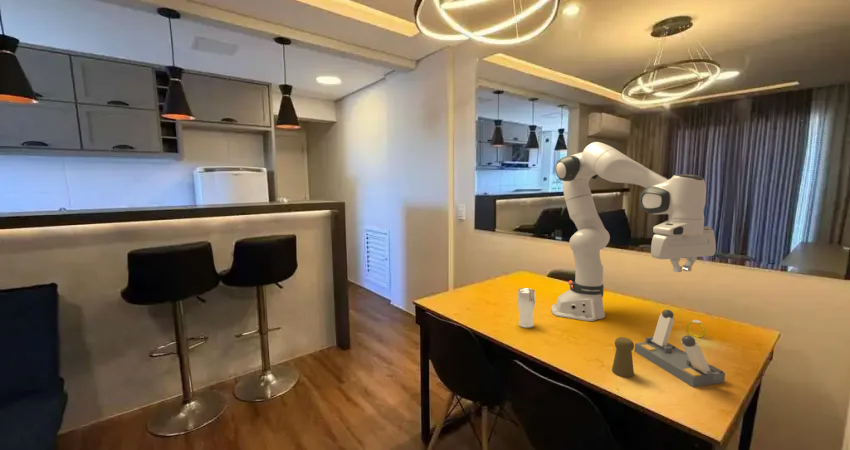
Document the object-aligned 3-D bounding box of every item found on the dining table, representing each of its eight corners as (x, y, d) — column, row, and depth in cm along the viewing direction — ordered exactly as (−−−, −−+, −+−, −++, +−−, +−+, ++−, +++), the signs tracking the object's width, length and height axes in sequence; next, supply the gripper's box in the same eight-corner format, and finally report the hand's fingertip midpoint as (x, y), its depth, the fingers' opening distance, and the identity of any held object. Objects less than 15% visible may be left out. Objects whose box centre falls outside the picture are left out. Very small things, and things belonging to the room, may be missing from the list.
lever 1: (655, 342, 123) (665, 307, 123) (669, 350, 118) (680, 313, 117) (647, 341, 123) (658, 306, 122) (661, 349, 117) (673, 312, 116)
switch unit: (661, 348, 126) (662, 335, 125) (732, 386, 102) (733, 371, 101) (634, 351, 124) (634, 338, 123) (699, 391, 100) (700, 376, 99)
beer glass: (535, 323, 149) (536, 288, 148) (533, 329, 143) (534, 293, 141) (519, 320, 152) (519, 287, 151) (516, 327, 146) (516, 291, 144)
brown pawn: (607, 368, 113) (609, 335, 112) (625, 366, 114) (627, 334, 112) (619, 378, 107) (621, 343, 106) (638, 377, 108) (640, 342, 106)
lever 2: (697, 362, 108) (681, 329, 105) (716, 372, 102) (700, 338, 99) (689, 368, 107) (673, 335, 105) (708, 379, 101) (691, 344, 99)
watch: (705, 338, 133) (708, 324, 132) (701, 340, 132) (703, 325, 131) (688, 331, 138) (691, 317, 137) (684, 333, 137) (686, 318, 136)
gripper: (704, 224, 113) (700, 266, 115) (648, 227, 110) (646, 270, 111) (723, 227, 107) (720, 271, 109) (665, 230, 103) (662, 276, 105)
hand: (682, 271), depth 110 cm, fingers closed
